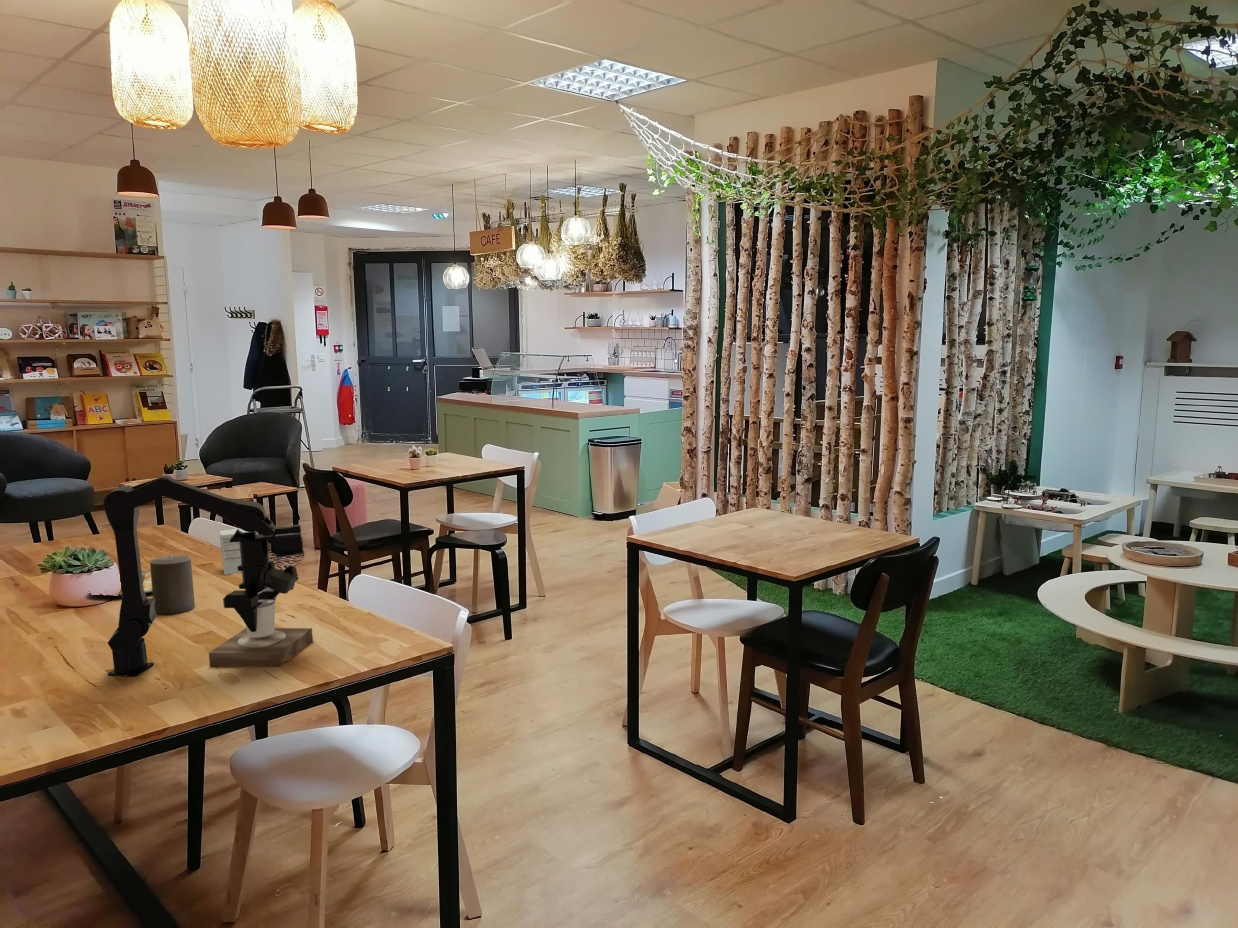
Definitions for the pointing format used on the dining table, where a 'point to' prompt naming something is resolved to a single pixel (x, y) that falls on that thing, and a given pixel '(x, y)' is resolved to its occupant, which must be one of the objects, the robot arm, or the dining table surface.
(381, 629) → the dining table surface
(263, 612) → the white cup
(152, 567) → the pillar candle
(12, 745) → the dining table surface
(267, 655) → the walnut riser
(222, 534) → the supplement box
